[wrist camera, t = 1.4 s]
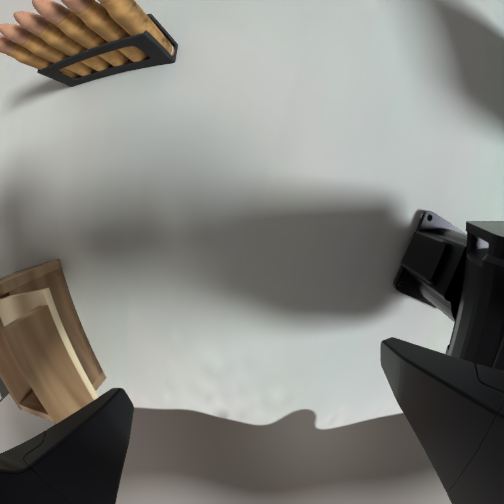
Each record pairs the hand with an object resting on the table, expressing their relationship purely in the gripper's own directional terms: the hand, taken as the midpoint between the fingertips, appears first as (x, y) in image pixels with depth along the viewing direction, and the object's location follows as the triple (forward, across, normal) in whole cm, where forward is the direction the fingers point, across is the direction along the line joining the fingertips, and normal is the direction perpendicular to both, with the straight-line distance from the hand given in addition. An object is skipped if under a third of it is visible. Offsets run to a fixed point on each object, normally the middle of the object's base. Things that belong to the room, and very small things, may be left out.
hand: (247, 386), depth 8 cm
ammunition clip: (+13, +6, -20) cm, 24 cm away
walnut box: (+14, +22, +2) cm, 26 cm away
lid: (+6, +16, +2) cm, 17 cm away
